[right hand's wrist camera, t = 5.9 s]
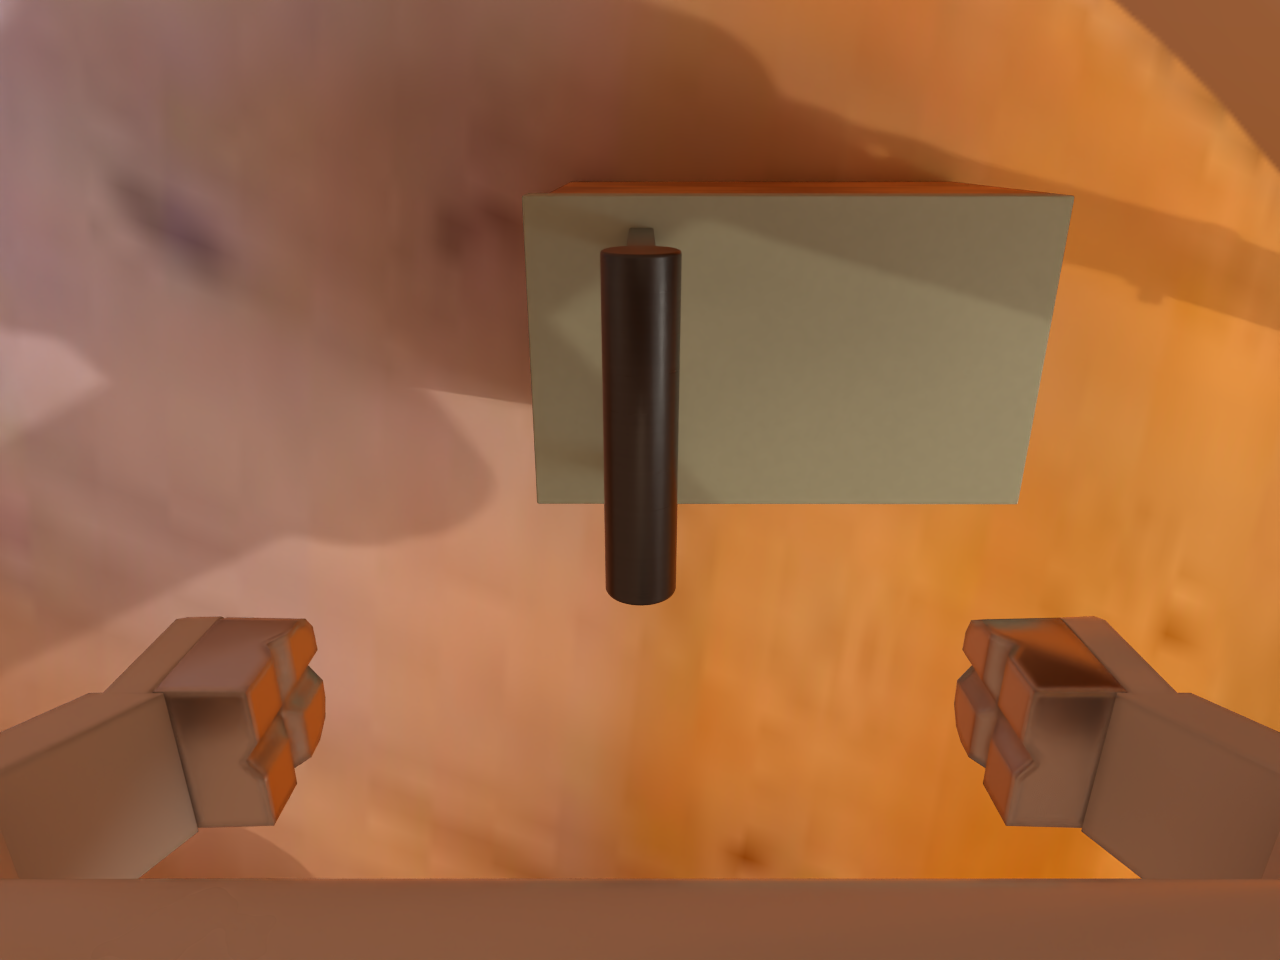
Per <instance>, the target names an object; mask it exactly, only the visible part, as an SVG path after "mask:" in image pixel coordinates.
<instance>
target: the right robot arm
mask: <svg viewBox="0 0 1280 960" xmlns="http://www.w3.org/2000/svg"><path fill="white" fill-rule="evenodd" d="M316 651H317V645H316V640H315V635H314V631H313V626H312V625H311V624H310V623H309V622H308V621H307V620H306V619H291V618H240V617H227V618H223V617H186V618H180V619H176V620H175V621H174V622H173V623H172V624H171V625H170V626H169V627H168V628H167V629H166V630H165V631H164V632H163V633H162V634H161V635H160V636H159V637H158V638H157V639H156V640H155V641H154V642H153V643H152V644H151V645H150V646H149V647H148V648H147V649H146V650H145V651H144V652H143V653H142V654H141V655H140V656H139V657H138V658H137V659H136V660H135V661H134V662H133V663H132V664H131V665H130V666H129V667H128V668H127V669H126V670H125V671H124V672H123V673H122V674H121V675H120V676H119V677H118V678H117V679H116V680H115V681H114V682H113V683H112V684H111V685H110V686H109V687H108V688H107V689H106V690H105V691H104V692H103V693H88V694H86V695H84V696H81V697H79V698H77V699H75V700H72V701H70V702H68V703H66V704H63V705H61V706H59V707H57V708H54V709H52V710H50V711H48V712H45V713H43V714H41V715H39V716H36V717H34V718H32V719H30V720H27V721H25V722H23V723H21V724H18V725H16V726H14V727H11V728H9V729H7V730H5V731H2V732H0V960H1280V732H1277V731H1275V730H1273V729H1271V728H1268V727H1266V726H1264V725H1262V724H1259V723H1257V722H1255V721H1253V720H1250V719H1248V718H1246V717H1244V716H1241V715H1239V714H1237V713H1235V712H1232V711H1230V710H1228V709H1226V708H1223V707H1221V706H1219V705H1217V704H1214V703H1212V702H1210V701H1208V700H1205V699H1203V698H1201V697H1199V696H1196V695H1194V694H1192V693H1177V692H1176V691H1175V690H1174V689H1173V688H1172V687H1171V686H1170V685H1169V684H1168V683H1167V682H1166V681H1165V680H1164V679H1163V678H1162V677H1161V676H1160V675H1159V674H1158V673H1157V672H1156V671H1155V670H1154V669H1153V668H1152V667H1151V666H1150V665H1149V664H1148V663H1147V662H1146V661H1145V660H1144V659H1143V658H1142V657H1141V656H1140V655H1139V654H1138V653H1137V652H1136V651H1135V650H1134V649H1133V648H1132V647H1131V646H1130V645H1129V644H1128V643H1127V642H1126V641H1125V640H1124V639H1123V638H1122V637H1121V636H1120V635H1119V634H1118V633H1117V632H1116V631H1115V630H1114V629H1113V628H1112V627H1111V626H1110V625H1109V624H1108V623H1107V622H1106V621H1105V620H1103V619H1100V618H1097V617H1095V616H1089V617H1064V618H1027V619H987V620H971V622H970V624H969V626H968V628H967V630H966V633H965V639H964V644H963V651H964V653H965V655H966V656H967V658H968V659H969V661H970V663H971V664H972V666H971V667H970V668H969V669H968V670H967V671H966V672H965V673H964V674H963V675H962V676H961V677H960V678H959V679H958V680H957V686H956V694H955V701H954V707H955V719H956V727H957V730H958V734H959V737H960V740H961V743H962V745H963V747H964V749H965V751H966V753H967V755H968V757H970V758H971V759H973V760H974V761H976V762H977V763H979V764H980V765H982V766H983V767H985V768H986V770H985V775H984V780H983V785H984V786H985V788H986V790H987V792H988V794H989V795H990V797H991V799H992V801H993V803H994V805H995V806H996V808H997V810H998V812H999V814H1000V815H1001V817H1002V819H1003V821H1004V823H1005V825H1006V826H1036V827H1073V828H1082V830H1081V831H1082V832H1083V833H1084V834H1086V835H1087V836H1088V837H1090V838H1091V839H1092V840H1093V841H1095V842H1096V843H1097V844H1098V845H1100V846H1101V847H1102V848H1104V849H1105V850H1106V851H1107V852H1109V853H1110V854H1111V855H1113V856H1114V857H1115V858H1116V859H1118V860H1119V861H1120V862H1121V863H1123V864H1124V865H1125V866H1127V867H1128V868H1129V869H1130V870H1132V871H1133V872H1134V873H1135V874H1137V875H1138V876H1139V877H1141V878H1142V879H138V878H140V877H141V876H142V875H144V874H145V873H146V872H147V871H149V870H150V869H151V868H152V867H154V866H155V865H156V864H158V863H159V862H160V861H161V860H163V859H164V858H165V857H167V856H168V855H169V854H170V853H172V852H173V851H174V850H175V849H177V848H178V847H179V846H181V845H182V844H183V843H184V842H186V841H187V840H188V839H190V838H191V837H192V836H193V835H195V834H196V833H197V832H198V828H207V827H242V826H274V825H275V823H276V821H277V819H278V817H279V816H280V814H281V812H282V810H283V808H284V806H285V805H286V803H287V801H288V799H289V797H290V796H291V794H292V792H293V790H294V788H295V786H296V785H297V780H296V775H295V769H294V768H295V767H297V766H298V765H300V764H301V763H303V762H304V761H306V760H307V759H309V758H310V757H312V755H313V753H314V751H315V749H316V747H317V745H318V743H319V741H320V738H321V733H322V729H323V725H324V720H325V692H324V685H323V680H322V679H321V678H320V677H319V676H318V675H317V674H316V673H315V672H314V671H313V670H312V669H311V668H310V667H309V666H308V664H309V663H310V661H311V659H312V658H313V656H314V655H315V653H316Z"/></svg>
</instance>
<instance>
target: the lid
mask: <svg viewBox="0 0 1280 960" xmlns="http://www.w3.org/2000/svg"><path fill="white" fill-rule="evenodd" d="M1073 202H1074V196H1071V195H1063V194H1054V193H529V194H526V195H524V196H522V208H523V228H524V248H525V268H526V288H527V308H528V328H529V348H530V368H531V388H532V408H533V428H534V448H535V468H536V487H537V502H538V503H539V504H604V511H605V569H606V590H607V592H608V594H609V595H610V596H611V597H612V598H613V599H615V600H617V601H619V602H622V603H626V604H630V605H651V604H656V603H660V602H662V601H665V600H666V599H668V598H669V597H671V596H672V595H673V593H674V591H675V589H676V544H677V504H1017V503H1018V499H1019V493H1020V488H1021V483H1022V477H1023V472H1024V466H1025V461H1026V456H1027V450H1028V445H1029V439H1030V434H1031V429H1032V423H1033V418H1034V412H1035V407H1036V402H1037V396H1038V391H1039V385H1040V380H1041V375H1042V369H1043V364H1044V358H1045V353H1046V348H1047V342H1048V337H1049V331H1050V326H1051V321H1052V315H1053V310H1054V304H1055V299H1056V294H1057V288H1058V283H1059V277H1060V272H1061V267H1062V261H1063V256H1064V250H1065V245H1066V240H1067V234H1068V229H1069V223H1070V218H1071V213H1072V207H1073Z"/></svg>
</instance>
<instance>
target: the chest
mask: <svg viewBox="0 0 1280 960" xmlns="http://www.w3.org/2000/svg"><path fill="white" fill-rule="evenodd" d="M550 193H1044V192H1036V191H1027V190H1018V189H1010V188H1001V187H992V186H984V185H975V184H966V183H958V182H570V183H568V184H566V185H564V186H562V187H560V188H558V189H556V190H554V191H552V192H550Z"/></svg>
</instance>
